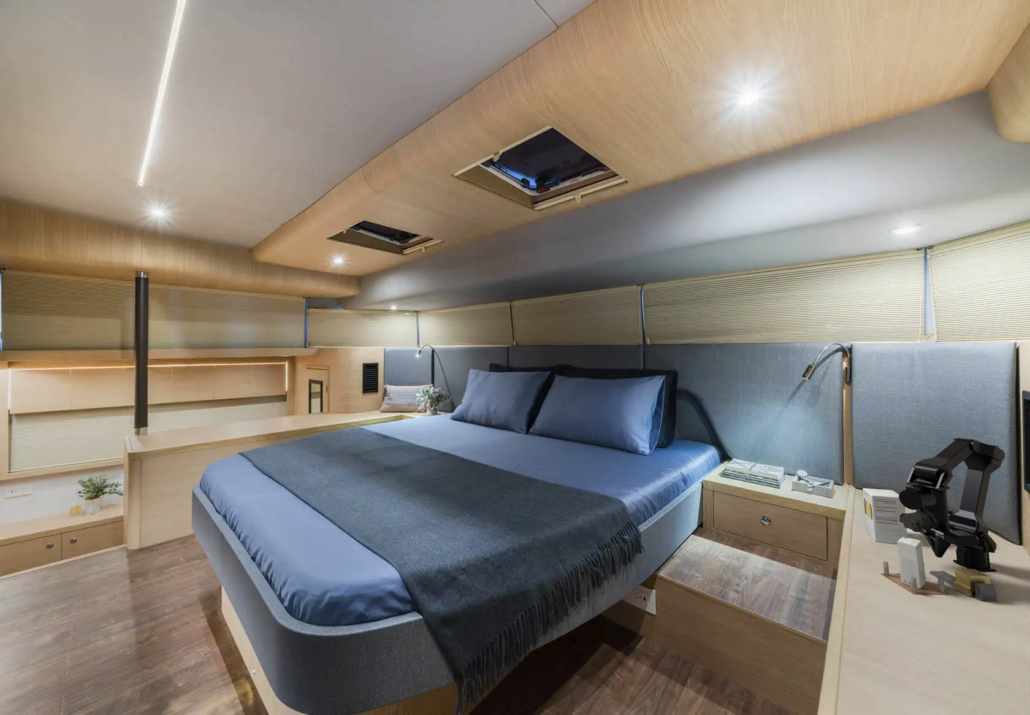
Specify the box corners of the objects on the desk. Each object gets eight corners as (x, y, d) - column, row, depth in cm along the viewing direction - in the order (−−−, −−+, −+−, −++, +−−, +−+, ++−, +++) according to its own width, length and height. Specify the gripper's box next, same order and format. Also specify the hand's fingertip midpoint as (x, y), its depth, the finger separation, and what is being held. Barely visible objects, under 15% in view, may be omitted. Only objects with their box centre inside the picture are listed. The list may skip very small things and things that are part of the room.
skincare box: (921, 589, 112) (917, 546, 113) (899, 583, 116) (896, 541, 116) (926, 582, 116) (923, 540, 116) (905, 576, 119) (902, 535, 120)
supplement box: (865, 531, 151) (861, 487, 152) (896, 535, 147) (892, 489, 148) (875, 542, 143) (871, 495, 143) (909, 545, 139) (904, 497, 139)
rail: (944, 573, 120) (942, 560, 120) (997, 601, 106) (995, 585, 106) (929, 573, 120) (928, 560, 121) (981, 601, 106) (979, 585, 106)
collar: (977, 588, 112) (976, 568, 112) (993, 596, 108) (991, 576, 108) (954, 588, 112) (952, 568, 112) (968, 596, 108) (966, 576, 108)
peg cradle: (912, 574, 121) (911, 560, 121) (948, 594, 110) (947, 579, 110) (881, 574, 121) (880, 560, 122) (913, 594, 111) (912, 579, 111)
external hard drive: (869, 526, 157) (909, 529, 153) (880, 534, 150) (922, 537, 145) (869, 522, 157) (908, 524, 153) (879, 530, 150) (922, 533, 145)
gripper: (880, 496, 130) (884, 544, 129) (935, 516, 111) (940, 573, 111) (916, 495, 129) (920, 543, 128) (978, 516, 110) (984, 572, 110)
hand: (938, 557), depth 119 cm, fingers closed
